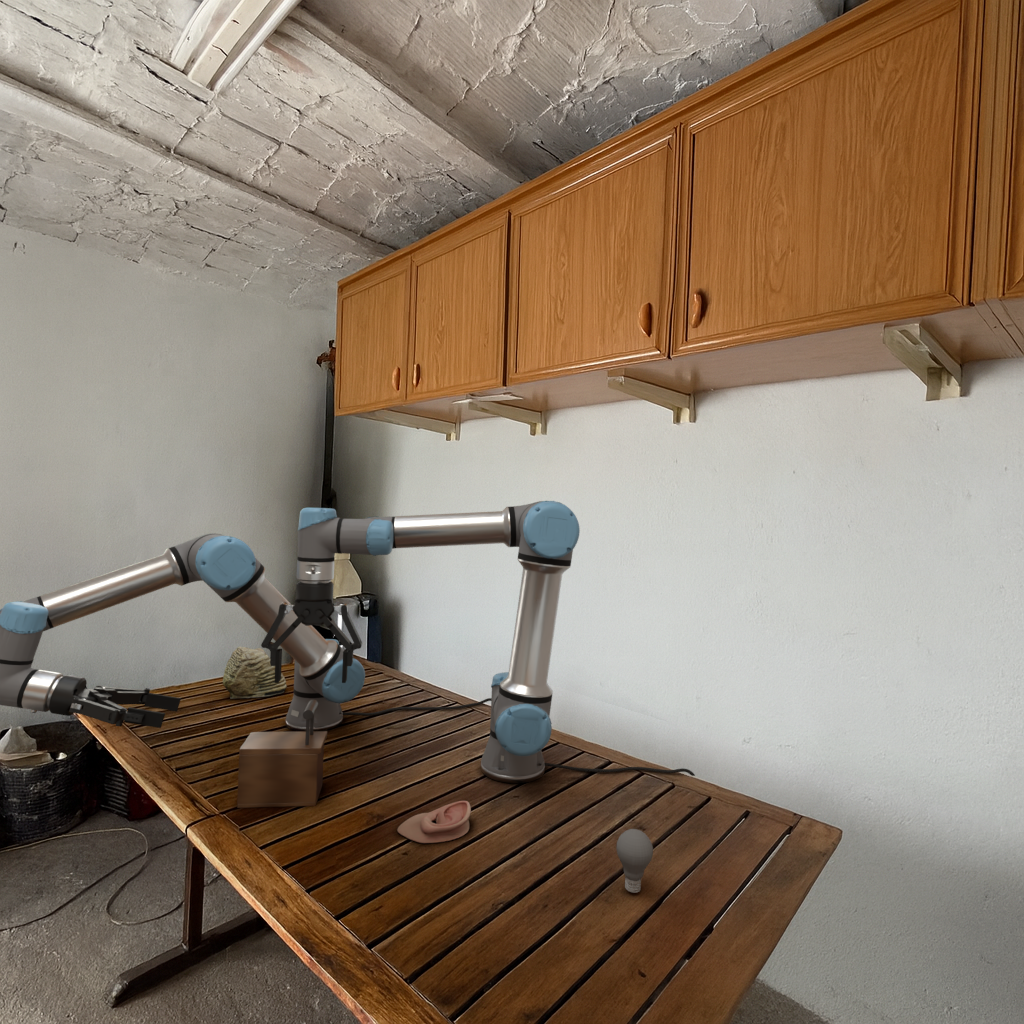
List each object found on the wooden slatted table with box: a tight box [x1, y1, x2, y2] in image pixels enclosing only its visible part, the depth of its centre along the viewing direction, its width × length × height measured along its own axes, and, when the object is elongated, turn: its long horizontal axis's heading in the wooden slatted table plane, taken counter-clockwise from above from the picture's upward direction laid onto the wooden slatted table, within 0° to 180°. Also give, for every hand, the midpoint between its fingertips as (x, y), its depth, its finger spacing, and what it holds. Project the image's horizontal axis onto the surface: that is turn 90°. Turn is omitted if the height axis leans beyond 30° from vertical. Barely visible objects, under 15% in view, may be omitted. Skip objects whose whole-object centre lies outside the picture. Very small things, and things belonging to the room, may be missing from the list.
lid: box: [238, 700, 328, 756], centre depth 133 cm, size 16×9×9 cm, turn 99°
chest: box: [236, 745, 325, 809], centre depth 133 cm, size 15×9×11 cm, turn 99°
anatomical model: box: [396, 800, 472, 844], centre depth 123 cm, size 13×4×12 cm
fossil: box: [222, 646, 288, 699], centre depth 198 cm, size 9×18×15 cm, turn 132°
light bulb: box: [615, 828, 654, 894], centre depth 106 cm, size 6×6×10 cm
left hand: (171, 712), depth 131 cm, fingers open, 13 cm apart
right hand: (311, 681), depth 134 cm, fingers open, 13 cm apart
